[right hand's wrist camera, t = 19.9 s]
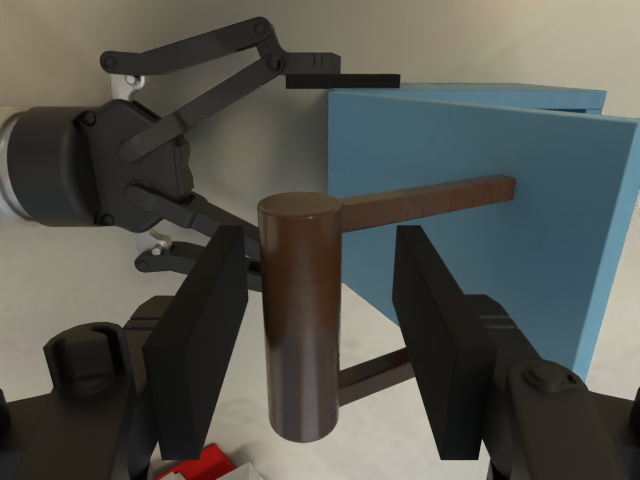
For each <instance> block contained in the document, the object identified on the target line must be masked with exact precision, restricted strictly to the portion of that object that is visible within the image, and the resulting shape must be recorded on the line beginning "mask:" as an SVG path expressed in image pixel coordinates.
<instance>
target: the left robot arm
mask: <svg viewBox="0 0 640 480" xmlns="http://www.w3.org/2000/svg"><path fill="white" fill-rule="evenodd" d="M253 47H257V49H258V52H259V54H260V57H261V59H259V60H257V61H256V62H254V63H252V64H251V65H249V66H248V67H246V68H244V69H243V70H241V71H240V72H238V73H236V74H235V75H233V76H232V77H230V78H228V79H227V80H225V81H224V82H222V83H220V84H219V85H217V86H216V87H214V88H212V89H211V90H209V91H207V92H206V93H204V94H203V95H201V96H199V97H198V98H196V99H195V100H193V101H191V102H190V103H188V104H187V105H185V106H183V107H182V108H180V109H179V110H177V111H175V112H173V113H171V114H169V115H168V116H166V117H164V118H163V119H162V118H161V117H159V116H158V115H156V114H155V113H153V112H152V111H150V110H149V109H147V108H146V107H144V106H143V105H141V104H140V103H138V102H137V101H135V100H134V97H135V94H136V92H137V91H138V90H140V89H145V88H147V87H148V86H149V85H150V82H151V75H162V74H167V73H171V72H174V71H177V70H181V69H184V68H187V67H190V66H194V65H197V64H200V63H204V62H207V61H210V60H213V59H217V58H220V57H223V56H226V55H230V54H233V53H236V52H239V51H243V50H246V49H249V48H253ZM340 61H341V57H340V56H338V55H336V54H334V53H289V52H286V51H284V50H283V49H282V48H281V46H280V44H279V41H278V38H277V36H276V33H275V29H274V27H273V25H272V24H271V23H270V22H269V21H268V20H267V19H266V18H263V17H255V18H252V19H249V20H246V21H242V22H239V23H236V24H233V25H230V26H226V27H223V28H220V29H217V30H214V31H211V32H207V33H204V34H201V35H198V36H195V37H191V38H188V39H185V40H182V41H179V42H175V43H172V44H169V45H166V46H163V47H159V48H156V49H153V50H150V51H147V52H143V53H129V52H117V51H105V52H104V53H103V54H102V55H101V57H100V64H101V67H102V68H103V70H104V71H106V72H107V73H110V84H111V95H112V100H110V101H108V102H107V103H105V104H104V105H102V106H98V107H34V108H31V109H28V108H25V107H0V227H38V226H41V225H45V226H49V227H102V226H117V227H121V228H124V229H126V230H128V231H130V232H133V233H134V234H135V238H136V242H137V246H138V250H139V256H138V257H137V258H136V260H135V267H136V269H138V270H139V271H141V272H145V273H146V272H159V271H174V272H178V273H182V274H186V275H188V274H189V273H190V271H191V269H192V268H193V266H194V265H195V263H196V262H197V260H198V258H199V257H200V255H201V254H202V252H203V251H204V249H205V247H204V246H200V245H196V244H192V243H187V242H180V241H172V240H171V237H170V236H168V235H161V234H159V233H157V232H156V231H155V230H154V226H155V225H156V224H158V223H159V222H160V221H162V220H163V219H166V220H168V221H170V222H172V223H174V224H176V225H178V226H181V227H183V228H191V229H194V230H196V231H198V232H200V233H202V234H204V235H206V236H208V237H211V238H212V236H213V235H214V233H215V232H216V230H217V228H218V227H219V225H243V229H244V244H245V255H247V256H249V257H251V258H249V257H245V258H246V273H247V287H248V289H249V290H253V291H257V292H262V283H261V265H260V247H259V229H258V227H256V226H254V225H252V224H250V223H248V222H246V221H244V220H242V219H241V218H239V217H237V216H235V215H233V214H231V213H229V212H227V211H225V210H223V209H221V208H219V207H217V206H215V205H213V204H211V203H209V202H208V201H207V200H206V199H205V198H204V197H203V196H201V195H199V194H197V193H195V192H193V191H191V190H192V189H193V188H194V184H193V176H192V173H191V171H190V168H189V166H188V162H189V156H190V148H189V141H186V140H185V138H184V136H183V134H184V133H186V132H187V131H189V130H190V129H192V128H194V127H195V126H197V125H199V124H200V123H202V122H203V121H205V120H206V119H208V118H210V117H211V116H213V115H215V114H216V113H218V112H220V111H221V110H223V109H225V108H226V107H228V106H229V105H231V104H233V103H234V102H236V101H238V100H239V99H241V98H243V97H244V96H246V95H248V94H249V93H251V92H252V91H254V90H256V89H257V88H259V87H261V86H262V85H264V84H266V83H267V82H269V81H270V80H272V79H274V78H275V77H277V76H279V75H286V89H334V88H400V75H399V74H340Z"/></svg>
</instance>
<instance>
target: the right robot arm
mask: <svg viewBox="0 0 640 480" xmlns="http://www.w3.org/2000/svg"><path fill="white" fill-rule="evenodd" d="M247 303H248V287H247V273H246V258H245V244H244V229H243V225H219V227H218V228H217V230H216V232H215V233H214V235H213V236H212V238H211V240H210V241H209V243H208V244H207V246H206V247H205V249H204V251H203V252H202V254H201V255H200V257H199V258H198V260H197V262H196V263H195V265H194V266H193V268H192V269H191V271H190V273H189V274H188V276H187V277H186V279H185V280H184V282H183V284H182V285H181V287H180V288H179V290H178V292H177V293H176V295H175V296H154V297H152V298H151V299H149V300H148V301H146V302H144V303H143V304H141V305H140V306H139V307H138V308H137V310H136V311H135V312H134V314H133V315H132V316H131V318H130V320H128V322H127V323H126V324H125V325H124V327H123V328H122V327H121V326H119V325H118V324H114V323H110V322H92V323H88V324H83V325H78V326H76V327H73V328H70V329H68V330H65V331H63V332H61V333H60V334H58V335H56V336H55V337H53V338H52V339H50V340H49V342H48V343H47V344H46V345H45V346H44V347H43V350H44V354H45V357H46V361H47V364H48V368H49V372H50V375H51V379H52V382H53V386H54V387H53V389H52V391H51V393H49V394H45V395H41V396H36V397H32V398H27V399H22V400H17V401H13V402H8V403H6V400H5V397H4V394H3V391H2V390H1V389H0V480H153V476H152V468H151V463H150V458H151V455H152V453H153V451H154V449H155V446H156V444H157V442H158V441H159V447H160V452H161V458H162V460H199V459H200V455H201V452H202V449H203V446H204V442H205V439H206V436H207V433H208V429H209V426H210V423H211V420H212V416H213V413H214V410H215V407H216V403H217V400H218V397H219V394H220V390H221V387H222V384H223V381H224V377H225V374H226V371H227V368H228V364H229V361H230V358H231V355H232V351H233V348H234V345H235V342H236V338H237V335H238V332H239V329H240V325H241V322H242V319H243V316H244V312H245V309H246V306H247ZM392 303H393V306H394V309H395V312H396V316H397V319H398V322H399V325H400V329H401V332H402V335H403V338H404V342H405V345H406V348H407V351H408V355H409V358H410V361H411V364H412V368H413V371H414V374H415V377H416V381H417V384H418V387H419V390H420V394H421V397H422V400H423V403H424V407H425V410H426V413H427V416H428V420H429V423H430V426H431V429H432V433H433V436H434V439H435V442H436V446H437V449H438V452H439V455H440V459H441V460H478V458H479V452H480V447H481V441H482V439H483V442H484V444H485V446H486V449H487V451H488V453H489V455H490V463H489V468H488V473H487V479H486V480H640V387H639V388H638V391H637V394H636V397H635V400H634V401H632V400H627V399H622V398H618V397H613V396H608V395H603V394H599V393H595V392H591V391H589V390H588V388H587V386H586V385H585V383H584V382H583V381H582V379H581V378H580V377H579V376H578V375H577V374H575V373H574V372H572V371H571V370H570V369H568V368H567V367H564V366H562V365H560V364H558V363H555V362H553V361H549V360H545V359H542V358H541V356H540V355H539V354H538V352H537V351H536V350H535V348H534V347H533V346H532V345H531V343H530V342H529V341H528V339H527V338H526V337H525V335H524V334H523V333H522V331H521V330H520V329H518V328H517V325H516V324H515V322H514V321H513V320H512V319H510V316H509V314H508V313H507V312H506V310H505V309H504V308H503V306H502V305H501V304H500V303H498V302H496V301H495V300H493V299H492V298H490V297H489V296H487V295H486V294H464V293H463V292H462V290H461V288H460V287H459V285H458V284H457V282H456V280H455V279H454V277H453V276H452V274H451V273H450V271H449V269H448V268H447V266H446V265H445V263H444V262H443V260H442V258H441V257H440V255H439V254H438V252H437V251H436V249H435V247H434V246H433V244H432V243H431V241H430V240H429V238H428V236H427V235H426V233H425V232H424V230H423V228H422V227H421V225H397V229H396V244H395V258H394V273H393V287H392Z"/></svg>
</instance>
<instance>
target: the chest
mask: <svg viewBox="0 0 640 480" xmlns="http://www.w3.org/2000/svg"><path fill="white" fill-rule="evenodd" d="M336 91H344V92H355V93H366V94H377V95H388V96H399V97H410V98H421V99H432V100H442V101H453V102H464V103H475V104H486V105H497V106H508V107H519V108H530V109H541V110H552V111H563V112H574V113H584V114H595V115H601V112H602V110H601V109H602V108H603V105H604V101H605V96H606V91H601V90H589V89H577V88H566V87H554V86H542V85H531V84H519V83H400V88H334V89H330V92H336Z"/></svg>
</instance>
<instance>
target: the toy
mask: <svg viewBox="0 0 640 480" xmlns="http://www.w3.org/2000/svg"><path fill="white" fill-rule="evenodd" d="M154 480H264V479H263V478H262V477H261V475H260V474H259V473H258V472H257V470H256V469H255V468H254V467H253V465H252V464H251V463H250V462H248V463H246V464H244V465H242V466H240V467H238V468H237V469H236V468H235V467H234V466H233V465H232V464H231V462H230V461H229V460H228V459H227V458H226V457H225V456H224V454H223V453H222V452H221V451H220V450H219V449H218V448H217V446H216V445H215V444H212V445H211V446H209V447H207V448H206V449H204V450H202V452H201V455H200V459H199V460H185V461H184V462H182V463H180V464H179V465H177V466H175V467H174V468H172V469H170V470H169V471H167V472H165V473H164V474H162V475H160V476H159V477H157V478H155V479H154Z"/></svg>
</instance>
